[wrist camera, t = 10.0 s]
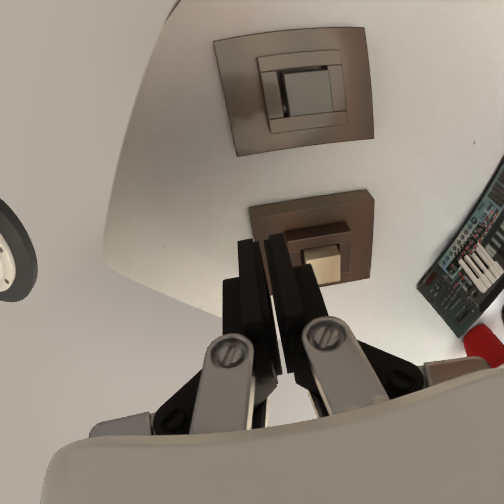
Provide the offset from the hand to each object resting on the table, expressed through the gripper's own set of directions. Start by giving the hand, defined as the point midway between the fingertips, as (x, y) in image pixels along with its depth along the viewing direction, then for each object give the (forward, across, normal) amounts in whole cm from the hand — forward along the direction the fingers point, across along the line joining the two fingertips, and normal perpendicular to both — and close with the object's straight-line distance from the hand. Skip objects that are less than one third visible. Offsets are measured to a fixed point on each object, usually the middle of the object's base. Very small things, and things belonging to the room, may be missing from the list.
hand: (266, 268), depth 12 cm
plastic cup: (+17, -37, +40) cm, 57 cm away
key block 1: (+18, -5, -4) cm, 19 cm away
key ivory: (+14, -5, +12) cm, 19 cm away
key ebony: (+14, -5, -4) cm, 16 cm away
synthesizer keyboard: (+18, -27, +14) cm, 35 cm away
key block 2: (+18, -5, +12) cm, 22 cm away
